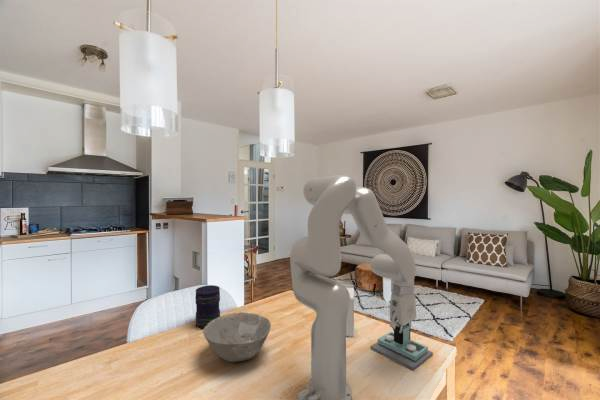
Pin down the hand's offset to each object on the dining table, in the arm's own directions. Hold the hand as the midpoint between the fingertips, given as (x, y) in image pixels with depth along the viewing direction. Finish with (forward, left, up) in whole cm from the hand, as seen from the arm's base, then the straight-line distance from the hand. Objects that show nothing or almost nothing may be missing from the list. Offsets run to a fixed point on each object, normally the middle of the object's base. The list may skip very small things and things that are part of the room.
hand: (402, 339), depth 97 cm
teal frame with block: (0, 0, -2) cm, 2 cm away
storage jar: (-44, +64, -4) cm, 78 cm away
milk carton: (-5, +22, -4) cm, 23 cm away
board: (-1, 0, -4) cm, 4 cm away
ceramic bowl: (-45, +35, -4) cm, 57 cm away
